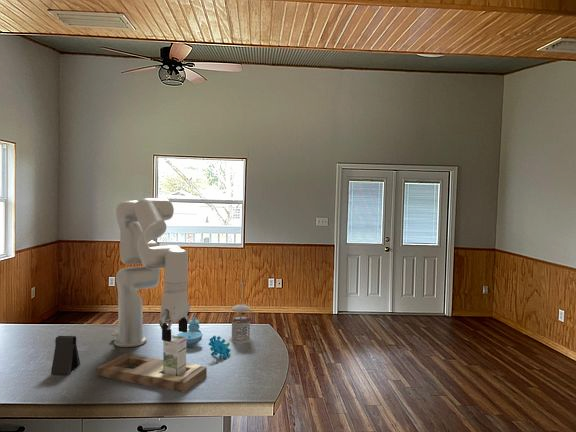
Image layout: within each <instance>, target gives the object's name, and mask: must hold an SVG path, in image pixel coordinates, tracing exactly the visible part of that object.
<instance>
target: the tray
mask: <svg viewBox="0 0 576 432" xmlns="http://www.w3.org/2000/svg"><path fill="white" fill-rule="evenodd" d="M128 367H132V368H128ZM207 368H208V367H207V366H204V365H203V366H202V364H195V363H191V362H190V363H189V362H186V372H185V373H183V374H182V375H181V376H173V375H167V374H163V359H160V358H153V357H147V356H141V355H136V354H130V353H124V354H123V355H120V356H118V357H116V358H114V359H112V360H111V361H108V362H106V363H104V364H102V365H100V366H98V367H97V376H98V377H101V378H107V379H113V380H118V381H122V382H128V383H132V384H133V383H134V384H140V385H145V386H151V387H153V388H154V387H155V388H161V389H166V390H171V391H175V392H176V391H177V392H181V393H186V392H187V391H188V390H190V389H191V388H193V387H194V386H195V385H196V384H198V383H199V382H200V381H202V380H203V379H204V378H206V377H207V373H208V372H207Z"/></svg>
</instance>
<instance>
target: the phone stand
mask: <svg viewBox="0 0 576 432" xmlns="http://www.w3.org/2000/svg"><path fill="white" fill-rule="evenodd" d="M54 342H55V343H54V345H55V346H54V352H53V357H52V358H53V359H52V364H51V370H50V371H51V372H50V375H51V374H53V375H56V376H57V375H60V376H70V374H71V372H72V371H73V372H74V371H75V370H76V369H78V368H79V367H80V366H81V360H80V356H79V351H78V346H77V336H76V335H57V336H56V337H55V341H54ZM79 365H80V366H79ZM78 366H79V367H78ZM77 367H78V368H77ZM53 375H52V376H53Z"/></svg>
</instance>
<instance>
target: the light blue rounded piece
mask: <svg viewBox="0 0 576 432" xmlns="http://www.w3.org/2000/svg"><path fill="white" fill-rule="evenodd" d="M199 323H200V320H198V319H197V317H196V316H195V317H192V319H189V320H188V324H189V325H187V332H186V333H185V332H179V333H178V334H176V336H183V337H186V347H188V348H189V347H193V346H194V345H195V344H196V343H197V342H198V341H200V340H201V339H202V338H203V335H204V334H203V333H202V331H201V330H200V324H199Z"/></svg>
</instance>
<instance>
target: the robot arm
mask: <svg viewBox="0 0 576 432" xmlns="http://www.w3.org/2000/svg"><path fill="white" fill-rule="evenodd" d="M174 209H175V208H174V205H173V203H172V202H171V201H170V200H169V199H168V198H164V197H163V198H161V197H160V198H159V197H155V198H153V197H152V198H151V197H145V198H140V199H138V200H124V201H120V202H119V203H118V204H117V206H116V209H115V217H116V221H117V224H118V227H119V233H120V235H119V248H120V249H119V254H120V255H119V256H120V261H121V262H122V263H123V264H124V265H137V264H139V265H140V264H142V266H130V267H124V268H121V269H119V270H118V271H117V272H116V274H115V275H116V276H115V281H116V289H117V296H118V297H117V299H118V300H117V301H118V304H117V305H118V306H117V307H118V308H117V309H118V311H117V312H118V315H117V316H118V322H117V323H118V324H117V325H118V328H117V329H118V330H117V329H114V330H113V331H112V333H111V336H112V337H116V338H115V340H114V341H113V342H114V346H117V347H119V348H133V347H139V346H141V345H144V344H145V343H147V337H146V336H144V335H143V310H144V309H143V298H142V296H141V295H140V294H139V293H138V292H137V291H139V290H145V289H146V290H147V289H153V288H157V286H158V285H159V284H160V280H161V269H164V278H163V279H164V283H163V284H164V286H163V287H164V288H163V293H162V297H161V303H160V305H161V306H160V316H159V318H158V323H159V327H160V329H161V341H168V342H170V341H171V335H172V329H171V327H172V325H173V323H175V322H177V321H178V332H179V333H182V332H185V333H186V332H187V331H188V323H189V315H190V311H191V307H192V306H191V305H190V304H189V297H188V295H189V294H188V279H189V277H188V274H189V272H188V271H189V254H188V251H187V250H185V249H182V247H181V246H179V245H159V244H158V242H157V241H155V240H156V239H159V238H161V237H162V236H163V235H164V234H165V232H166V231H167V224H166V222H165V221H169V220H171V219H172V218H173V215H174ZM167 323H168V324H167Z"/></svg>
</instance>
